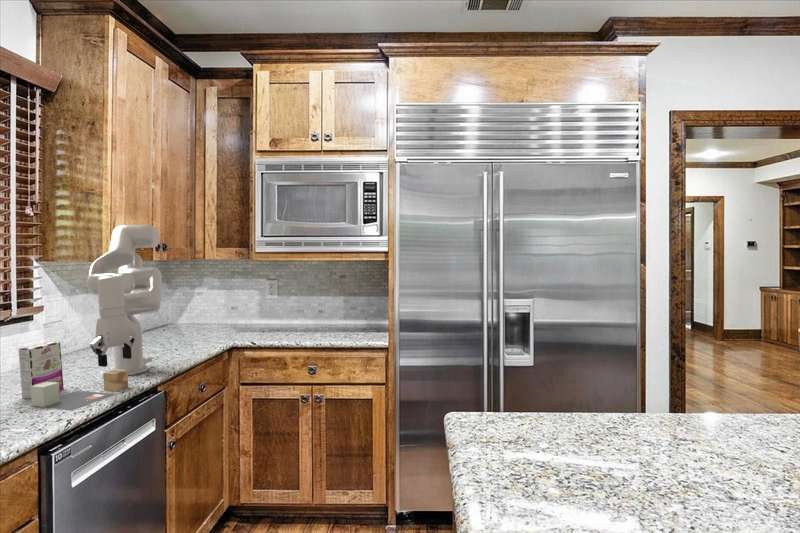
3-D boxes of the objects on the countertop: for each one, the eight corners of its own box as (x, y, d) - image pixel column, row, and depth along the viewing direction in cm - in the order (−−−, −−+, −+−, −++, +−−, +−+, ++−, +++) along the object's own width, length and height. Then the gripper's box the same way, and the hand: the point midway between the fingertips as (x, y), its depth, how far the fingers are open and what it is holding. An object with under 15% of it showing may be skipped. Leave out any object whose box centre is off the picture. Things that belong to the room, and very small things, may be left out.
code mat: (77, 391, 164) (77, 390, 164) (117, 394, 159) (117, 394, 159) (29, 406, 148) (29, 405, 148) (71, 411, 143) (71, 410, 143)
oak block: (116, 386, 168) (115, 369, 168) (128, 387, 167) (127, 370, 167) (104, 390, 164) (103, 373, 163) (115, 391, 162) (115, 373, 162)
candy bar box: (51, 388, 168) (49, 341, 167) (64, 389, 167) (61, 341, 166) (20, 398, 157) (17, 348, 156) (33, 399, 156) (30, 348, 155)
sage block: (48, 400, 154) (46, 381, 153) (59, 401, 152) (58, 382, 152) (31, 405, 149) (30, 386, 148) (44, 406, 147) (42, 387, 147)
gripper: (124, 307, 174) (127, 354, 175) (80, 316, 157) (83, 368, 159) (141, 308, 171) (144, 356, 173) (98, 317, 155) (101, 370, 156)
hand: (115, 362), depth 166 cm, fingers open, 9 cm apart
